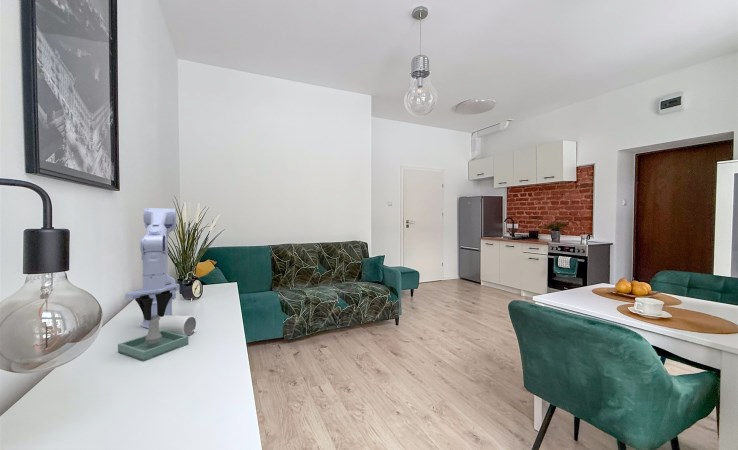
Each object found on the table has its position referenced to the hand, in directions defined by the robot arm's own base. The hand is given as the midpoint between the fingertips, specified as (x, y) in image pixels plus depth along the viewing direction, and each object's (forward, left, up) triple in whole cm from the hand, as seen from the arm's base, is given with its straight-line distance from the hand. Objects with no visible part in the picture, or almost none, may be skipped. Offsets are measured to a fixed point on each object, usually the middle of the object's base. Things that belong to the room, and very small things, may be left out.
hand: (154, 317), depth 93 cm
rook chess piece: (0, 0, -8) cm, 8 cm away
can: (0, +12, -6) cm, 13 cm away
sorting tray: (0, 0, -9) cm, 9 cm away
